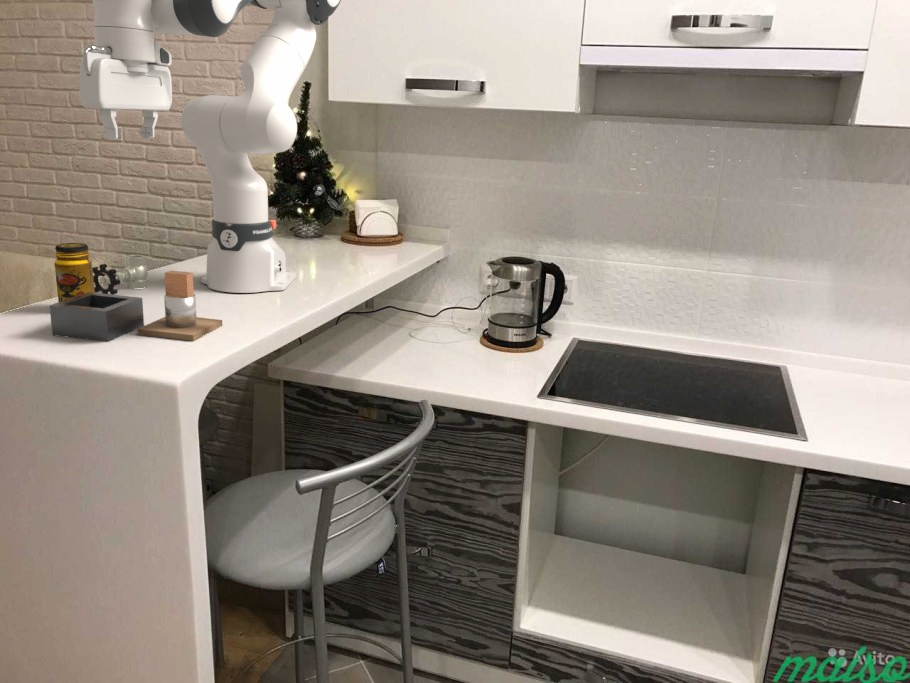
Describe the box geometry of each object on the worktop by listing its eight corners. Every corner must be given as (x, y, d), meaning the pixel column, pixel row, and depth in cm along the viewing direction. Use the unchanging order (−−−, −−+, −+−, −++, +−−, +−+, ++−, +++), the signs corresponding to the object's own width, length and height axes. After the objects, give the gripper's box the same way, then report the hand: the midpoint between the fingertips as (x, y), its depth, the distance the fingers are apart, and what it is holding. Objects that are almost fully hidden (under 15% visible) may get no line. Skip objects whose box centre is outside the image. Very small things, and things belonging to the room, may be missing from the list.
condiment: (58, 315, 133) (51, 248, 130) (53, 304, 140) (47, 240, 137) (103, 312, 137) (97, 247, 134) (96, 301, 144) (91, 239, 141)
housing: (91, 319, 132) (89, 292, 130) (144, 325, 130) (142, 297, 129) (52, 335, 122) (49, 305, 121) (108, 341, 121) (105, 311, 119)
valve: (131, 284, 159) (89, 295, 148) (129, 253, 157) (87, 262, 146) (158, 287, 157) (118, 299, 146) (156, 256, 156) (115, 266, 144)
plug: (175, 319, 132) (172, 268, 129) (202, 322, 131) (199, 271, 128) (159, 326, 127) (156, 274, 124) (187, 329, 126) (184, 276, 124)
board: (170, 319, 135) (170, 314, 134) (222, 325, 133) (222, 320, 133) (137, 334, 125) (137, 328, 125) (193, 341, 124) (193, 335, 123)
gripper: (102, 43, 110) (109, 141, 114) (177, 55, 129) (181, 138, 133) (63, 42, 111) (72, 139, 115) (143, 54, 130) (148, 136, 134)
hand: (131, 139), depth 124 cm, fingers open, 8 cm apart
